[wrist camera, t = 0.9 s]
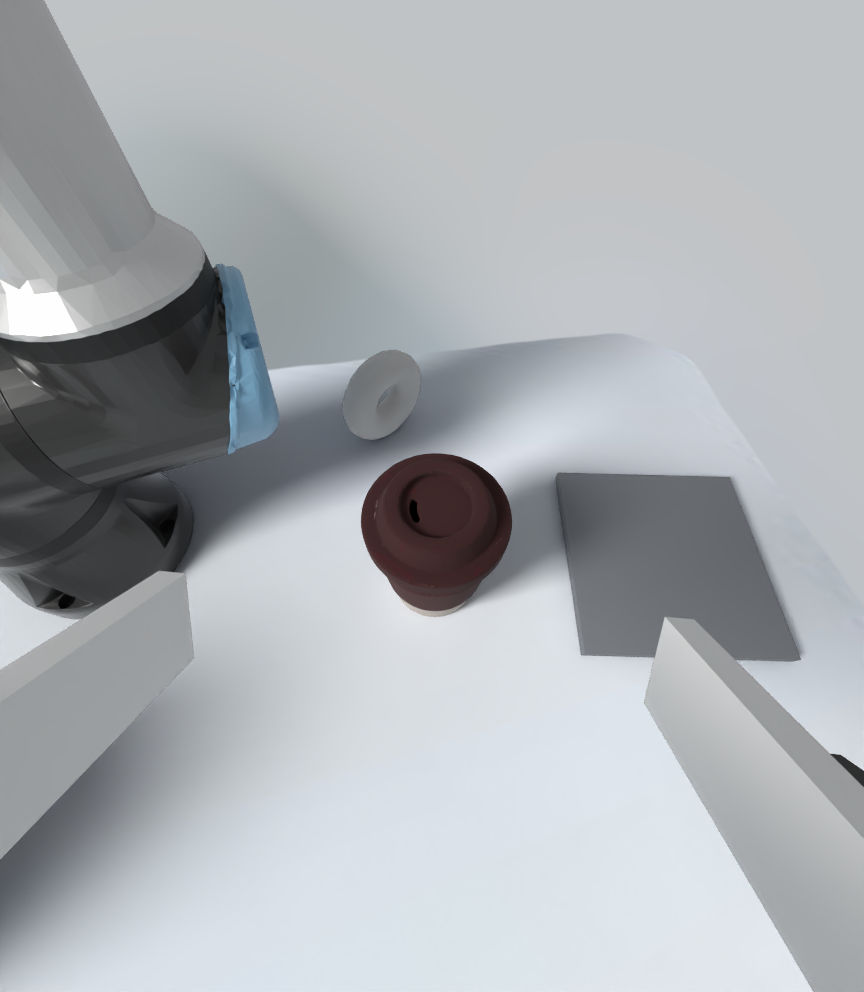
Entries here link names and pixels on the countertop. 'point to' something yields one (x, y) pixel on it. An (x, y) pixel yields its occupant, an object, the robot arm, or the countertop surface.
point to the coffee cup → (436, 529)
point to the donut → (369, 388)
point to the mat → (666, 565)
